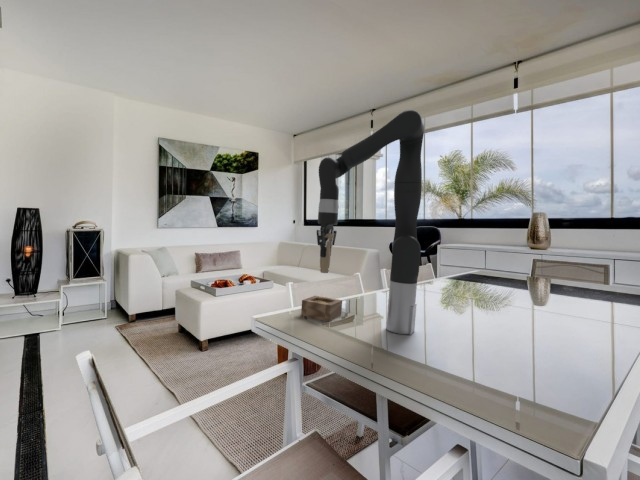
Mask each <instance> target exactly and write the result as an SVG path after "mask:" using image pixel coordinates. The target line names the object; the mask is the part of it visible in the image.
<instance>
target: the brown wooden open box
mask: <svg viewBox="0 0 640 480" xmlns="http://www.w3.org/2000/svg"><path fill="white" fill-rule="evenodd" d="M316 300H321V301H326V302H331V303H322V302H317V301H316ZM342 311H343V299H336V298H332V297H326V296H325V297H324V296H320V295H313V296H310V297H308V298H304V299H301V313H300V316H301V315H303V316H302V317H304V316H307V317H306V318H309V317H310V318H311V319H314V320H319V321H325V322H332V321H333V320H336V319H337V318H340V317H341V316H342Z"/></svg>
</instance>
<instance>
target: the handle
mask: <svg viewBox="0 0 640 480" xmlns="http://www.w3.org/2000/svg"><path fill="white" fill-rule="evenodd" d="M326 238H329V241H328V242H327V247H326V248H327V250H326V257H320V256H319V268H320V269H319V271H320V273H322V274H329V271H330V270H329V268H330V265H331V264H330V263H331V256H330V242H331V239H332V238H334V234H326V236H324V239H326Z"/></svg>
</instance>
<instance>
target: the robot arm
mask: <svg viewBox="0 0 640 480" xmlns="http://www.w3.org/2000/svg"><path fill="white" fill-rule="evenodd" d="M423 120H424V119H423V118H422V116H421V114H420V113H419V112H418V111H416V110H414V109H407V110H404V111H402V112H401V113H399V114H398V115H397V116H395V117H394V118H393V119H391V120H390V121H389V122H388V123H386V124H384V125H383V126H382V127H381V128H379V129H378V130H376V131H375V132H374V133H372V134H370V135H368V136H367V137H366V138H364V139H362V140H361V141H359V142H356V143H355V144H353V145H351V146H350V147H348V148H346V149H344V151H342V153H341V156H339V157H338V158H335V159H334V158H332V157H325V158H322V159H321V161H320V163H319V166H318V178H319V180H318V181H319V186H320V190H319V191H320V193H319V202H318V203H319V204H318V215H317V223H318V225H320V228H319V229H316V239H317V240H316V242H317V246H319V247H320V251H319V258H320V257H326V250H327V248H326V247H327V242H328V241H329V238H326V239H324V236H326V234H334V238H332V239H331V242H330V257H331V256H332V247H333V246H335V243H336V242H335V241H336V237H337V230H335V227H334V225H335V226H337V225H338V219H339V194H340V193H339V191H340V189H339V186H338V184H337V179H339V178H340V177H343V176H344V175H345V174H346V173H348V172H349V171H351V169H353V168H355V167H357V166H359V165H360V164H362V163H364V162H366V161H368V160H369V159H370V158H372V157H373V156H375V155H376V154H377V153H378V152H379V151H381V150H383V148H385V147H387V146H388V145H390V144H391V143H394V142H397V141H398V140H399V160H398V163H397V167H396V171H395V176H394V186H393V187H394V188H393V191H394V193H393V202H394V216H395V224H394V225H395V228H394V235H393V242H392V245H391V246H392V247H391V250H392V253H391V254H392V255H391V268H390V272H389V273H390V275H389V276H390V278H389V285H388V287H389V288H388V300H387V302H388V303H387V311H386V312H387V313H386V314H387V315H386V325H385V329H386V330H387V331H389V332H391V333H393V334H394V333H395V334H399V335H411V336H412V335H413V333H414V332H415V328H416V315H417V303H416V302H417V301H416V299H417V289H418V288H417V286H418V277H419V272H420V263H421V253H422V252H421V249H422V247H421V244H420V242H419V240H418V233H417V230H418V229H417V227H418V225H417V222H418V216H419V212H420V211H419V210H420V207H421V203H422V202H421V201H422V191H423V190H422V186H423V185H422V183H423V180H422V179H423V177H422V176H423V173H422V172H423V171H422V170H423V169H422V148H423V141H424V136H425V135H424V134H425V123H424V121H423Z"/></svg>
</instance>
